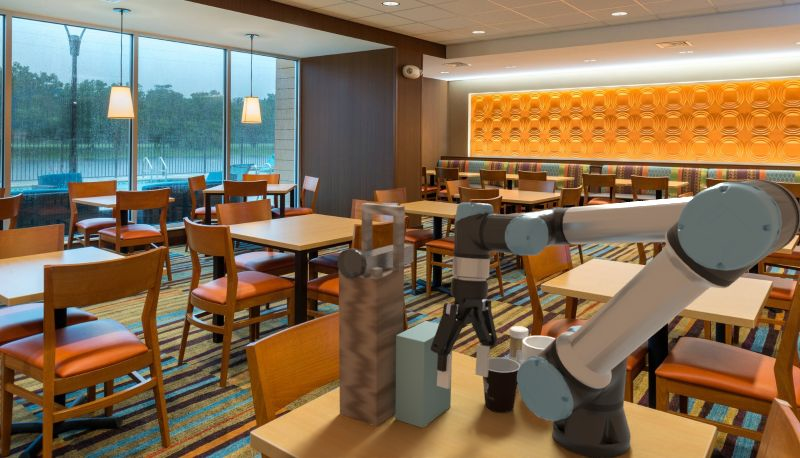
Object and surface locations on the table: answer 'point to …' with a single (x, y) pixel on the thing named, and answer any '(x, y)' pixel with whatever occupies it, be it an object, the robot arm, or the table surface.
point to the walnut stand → (372, 327)
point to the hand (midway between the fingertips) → (463, 381)
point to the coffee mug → (501, 384)
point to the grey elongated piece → (369, 260)
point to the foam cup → (535, 345)
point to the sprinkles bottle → (517, 343)
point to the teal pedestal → (419, 377)
